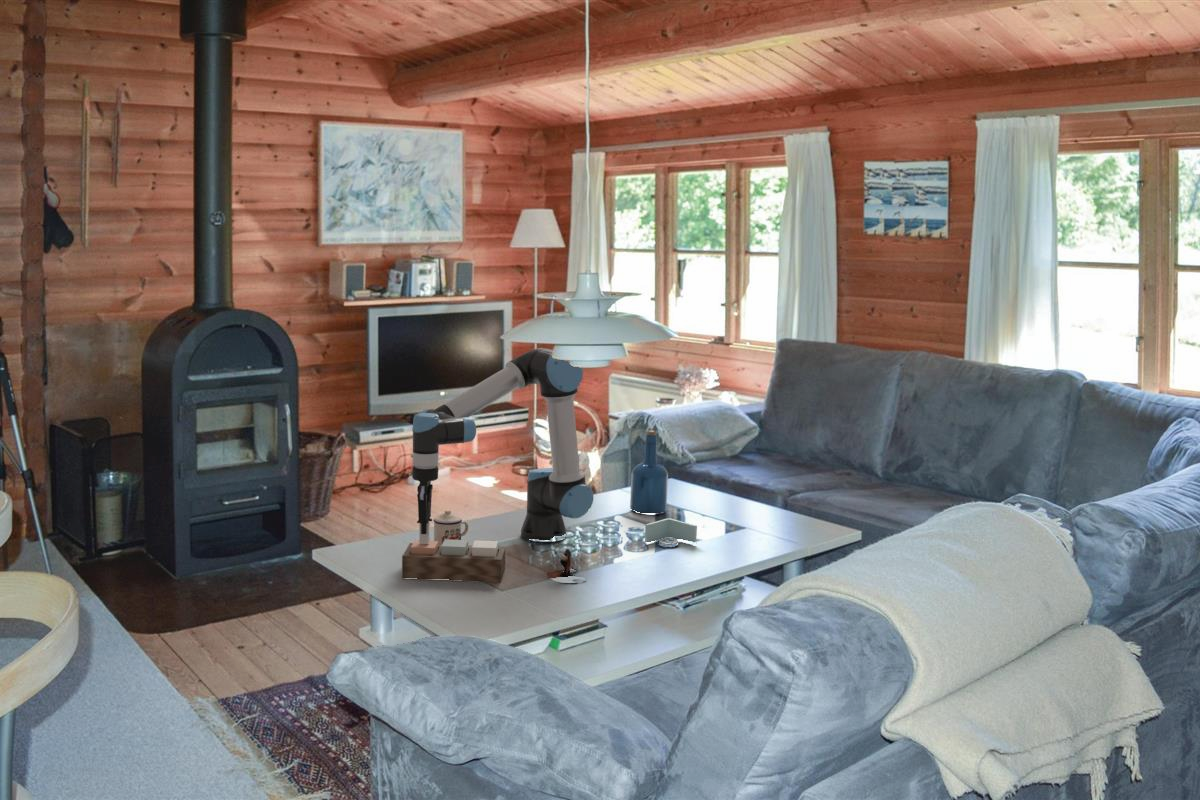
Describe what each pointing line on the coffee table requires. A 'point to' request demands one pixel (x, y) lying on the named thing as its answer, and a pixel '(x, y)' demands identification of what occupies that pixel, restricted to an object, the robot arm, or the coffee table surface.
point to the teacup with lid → (448, 527)
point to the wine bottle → (649, 481)
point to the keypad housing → (454, 566)
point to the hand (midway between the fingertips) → (424, 543)
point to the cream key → (485, 548)
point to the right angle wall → (670, 531)
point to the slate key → (454, 547)
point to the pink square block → (424, 548)
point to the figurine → (565, 563)
